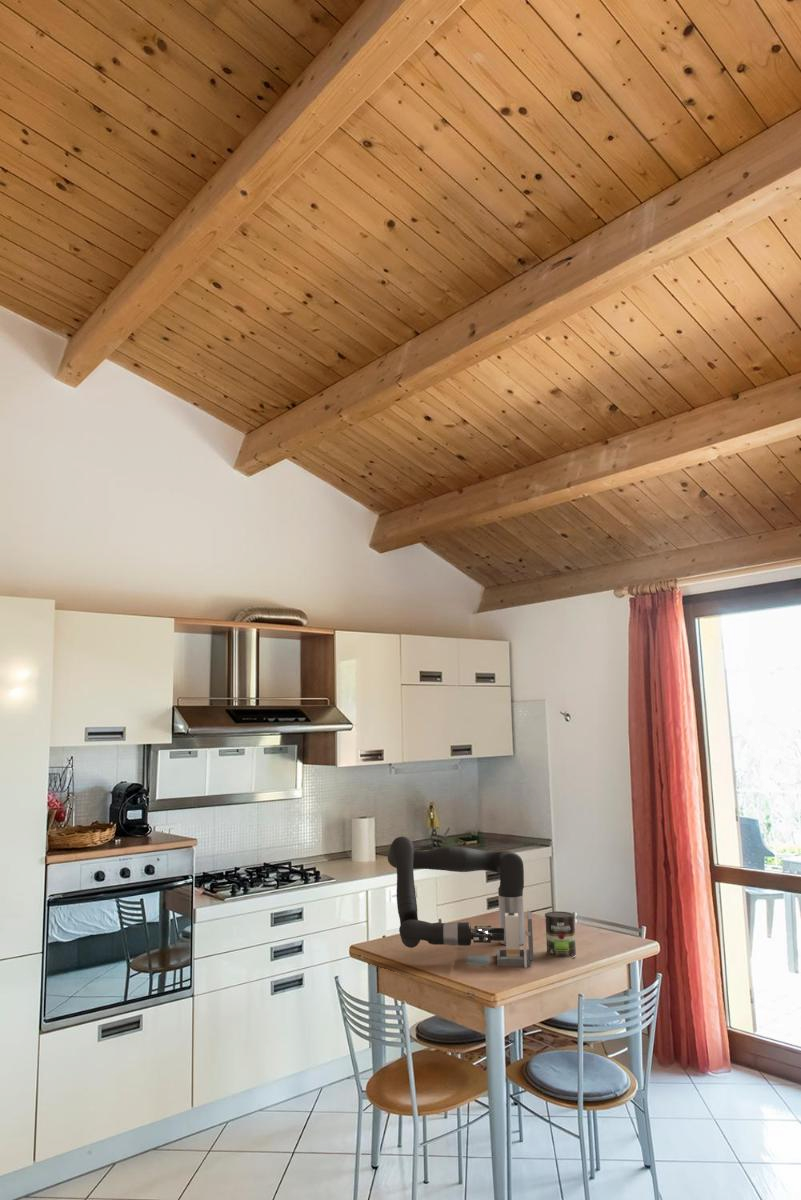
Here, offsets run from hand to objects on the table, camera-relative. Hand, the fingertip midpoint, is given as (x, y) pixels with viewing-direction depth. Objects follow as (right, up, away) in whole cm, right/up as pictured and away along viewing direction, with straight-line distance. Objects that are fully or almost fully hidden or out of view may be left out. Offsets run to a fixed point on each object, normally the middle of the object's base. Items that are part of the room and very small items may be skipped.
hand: (504, 934), depth 282 cm
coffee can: (+21, -11, +7) cm, 25 cm away
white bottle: (+3, -8, -2) cm, 9 cm away
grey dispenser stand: (+3, -9, -2) cm, 10 cm away
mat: (-9, -10, -1) cm, 13 cm away
